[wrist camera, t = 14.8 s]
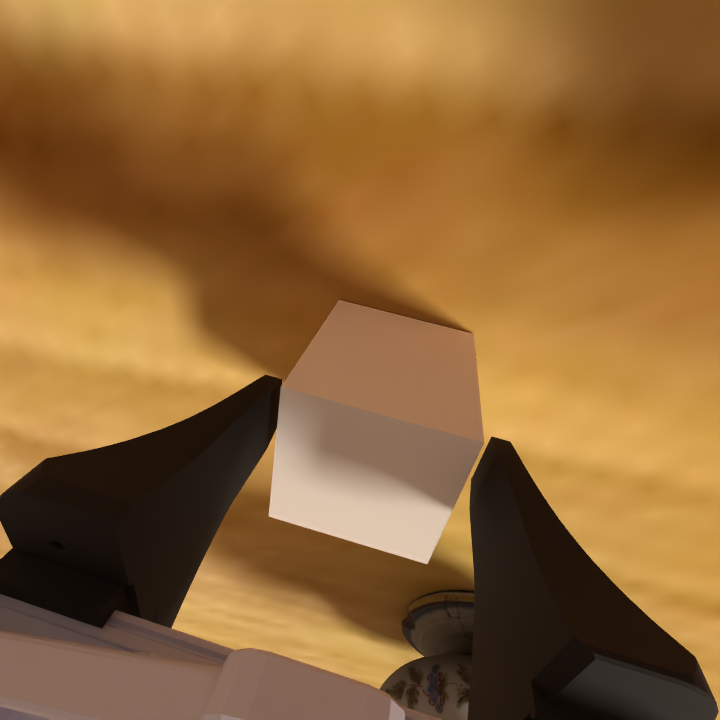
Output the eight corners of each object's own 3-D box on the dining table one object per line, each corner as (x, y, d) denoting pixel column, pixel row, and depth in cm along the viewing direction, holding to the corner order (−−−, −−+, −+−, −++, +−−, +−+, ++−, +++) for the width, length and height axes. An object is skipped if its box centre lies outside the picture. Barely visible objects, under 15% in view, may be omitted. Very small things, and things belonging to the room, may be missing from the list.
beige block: (473, 333, 17) (483, 442, 11) (435, 436, 20) (427, 564, 14) (339, 299, 18) (280, 386, 12) (321, 405, 21) (268, 516, 15)
